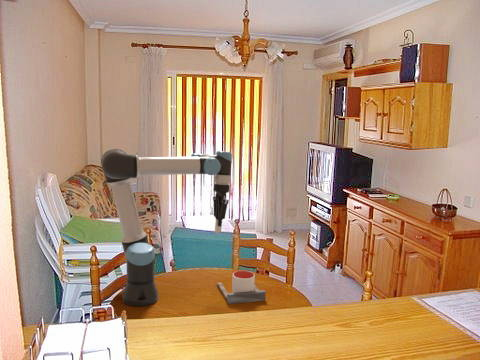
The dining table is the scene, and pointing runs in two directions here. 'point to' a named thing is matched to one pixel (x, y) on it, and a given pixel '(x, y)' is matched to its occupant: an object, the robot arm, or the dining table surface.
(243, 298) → the grey tray
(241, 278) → the cup
